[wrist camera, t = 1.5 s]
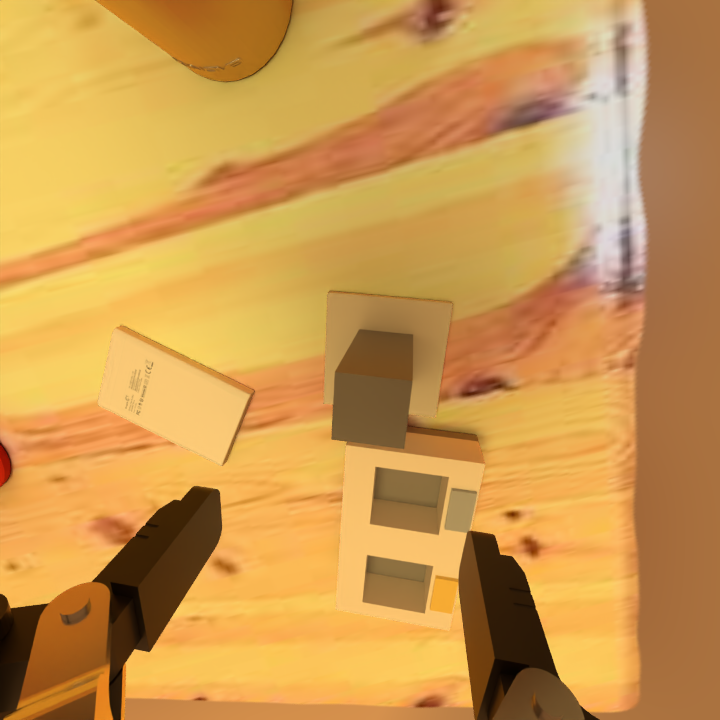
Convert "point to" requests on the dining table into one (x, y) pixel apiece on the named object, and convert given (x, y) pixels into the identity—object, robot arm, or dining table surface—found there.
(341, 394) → the plug
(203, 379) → the external hard drive
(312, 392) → the dining table surface
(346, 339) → the mat
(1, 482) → the canned food
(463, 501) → the socket block
